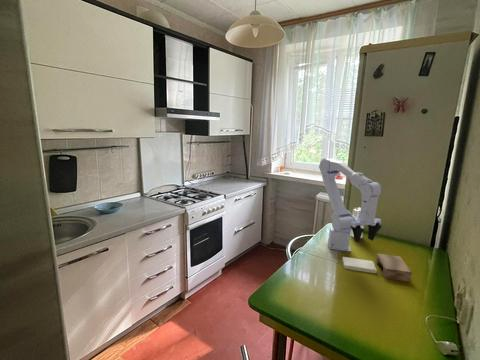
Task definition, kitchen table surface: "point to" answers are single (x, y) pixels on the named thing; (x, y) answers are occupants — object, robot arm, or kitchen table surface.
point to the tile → (359, 265)
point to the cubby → (393, 267)
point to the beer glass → (356, 215)
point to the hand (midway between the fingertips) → (363, 240)
